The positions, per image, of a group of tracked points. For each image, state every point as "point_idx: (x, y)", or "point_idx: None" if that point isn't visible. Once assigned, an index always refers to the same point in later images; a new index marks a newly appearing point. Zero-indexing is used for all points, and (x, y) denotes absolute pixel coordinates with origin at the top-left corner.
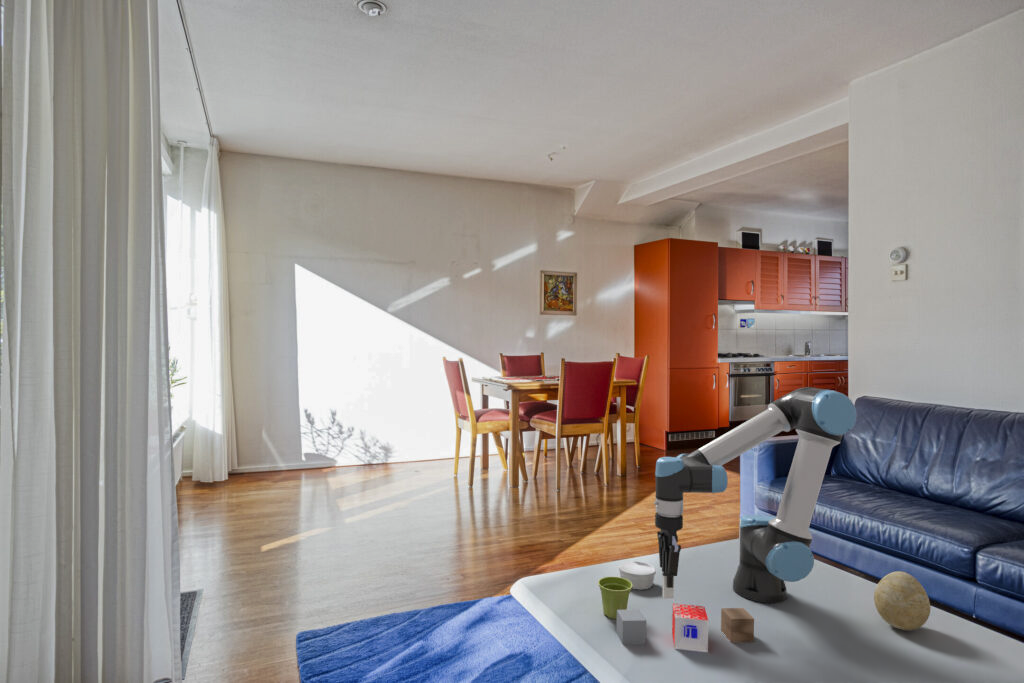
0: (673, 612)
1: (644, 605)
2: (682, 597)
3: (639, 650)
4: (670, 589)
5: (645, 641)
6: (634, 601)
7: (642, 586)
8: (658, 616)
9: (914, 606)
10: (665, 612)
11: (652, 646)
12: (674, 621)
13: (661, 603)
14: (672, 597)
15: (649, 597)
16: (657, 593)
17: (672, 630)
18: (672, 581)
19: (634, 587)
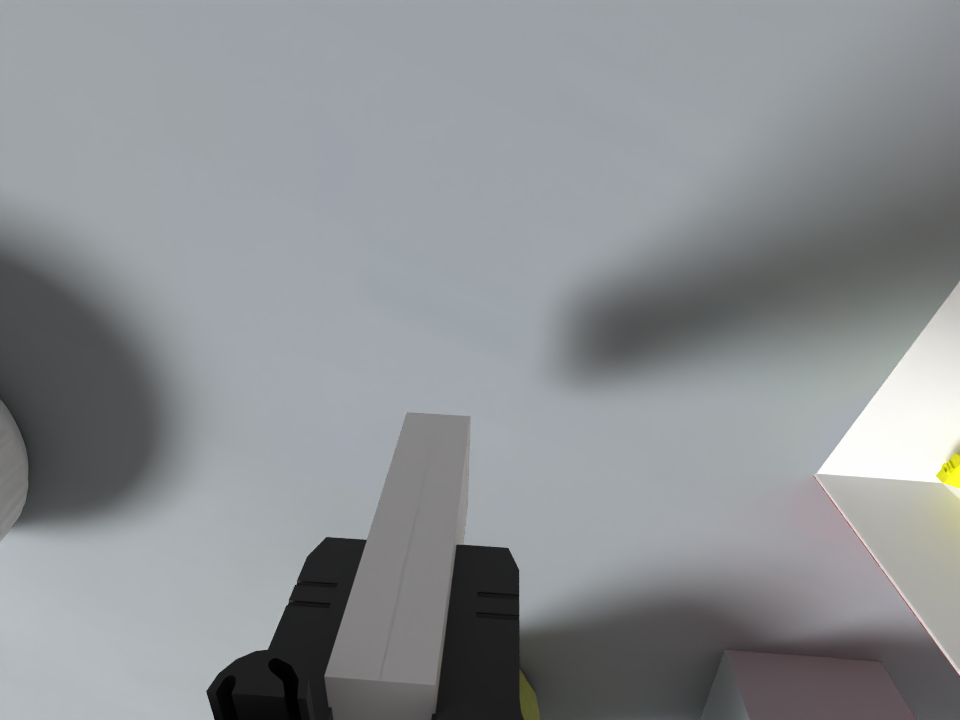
0: (933, 619)
1: (327, 502)
2: (95, 89)
3: (936, 708)
4: (461, 523)
5: (887, 676)
6: (261, 543)
7: (4, 451)
8: (524, 472)
9: None
10: (457, 396)
11: (929, 641)
12: (900, 548)
13: (278, 365)
14: (468, 433)
15: (166, 419)
16: (58, 323)
17: (827, 490)
18: (516, 642)
19: (24, 497)
